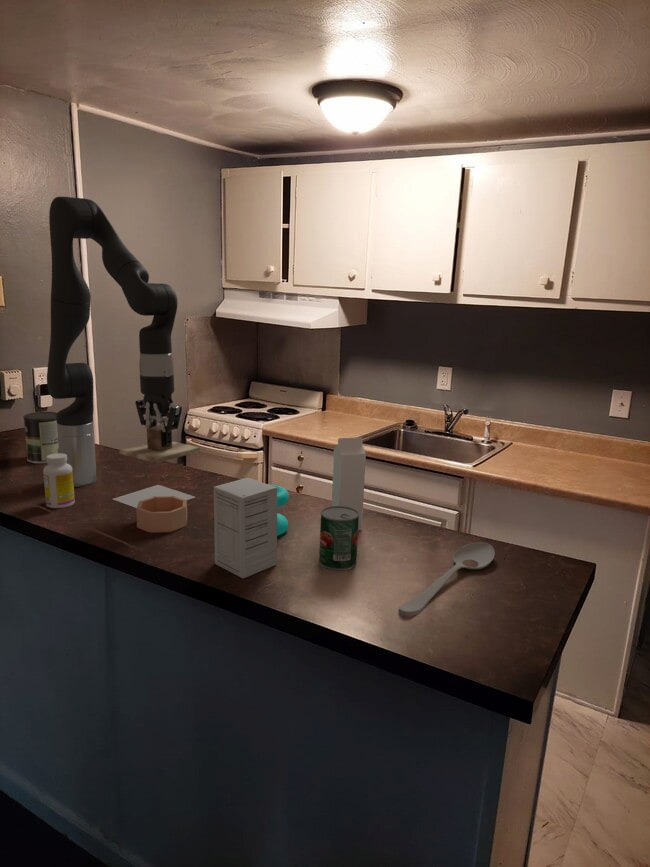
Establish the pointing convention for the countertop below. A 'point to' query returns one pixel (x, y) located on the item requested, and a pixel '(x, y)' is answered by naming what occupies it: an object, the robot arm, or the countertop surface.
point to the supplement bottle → (58, 482)
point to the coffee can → (41, 436)
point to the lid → (158, 448)
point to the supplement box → (245, 526)
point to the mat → (150, 495)
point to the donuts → (281, 500)
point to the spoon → (450, 575)
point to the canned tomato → (338, 537)
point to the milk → (349, 475)
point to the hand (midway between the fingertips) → (159, 444)
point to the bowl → (161, 514)
